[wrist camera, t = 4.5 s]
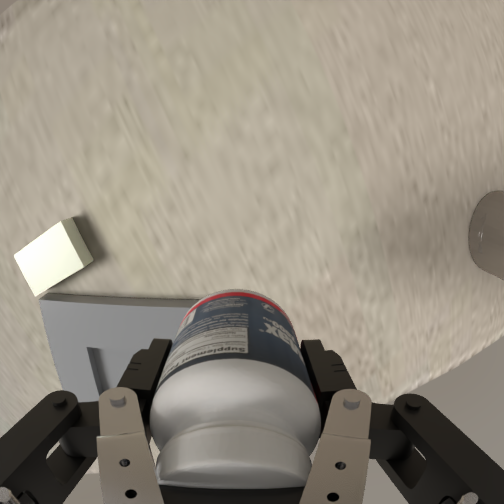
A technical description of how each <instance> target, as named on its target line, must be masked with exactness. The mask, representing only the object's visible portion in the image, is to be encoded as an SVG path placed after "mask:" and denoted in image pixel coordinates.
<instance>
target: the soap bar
mask: <svg viewBox="0 0 504 504" xmlns="http://www.w3.org/2000/svg"><path fill="white" fill-rule="evenodd" d="M14 257H15V259H16V261H17V263H18V265H19V267H20V269H21V271H22V273H23V275H24V277H25V279H26V281H27V282H28V284H29V286H30V288H31V290H32V292H33V293H34V295H35V296H37V295H39V294H40V293H42V292H43V291H45V290H47V289H48V288H50V287H52V286H53V285H55V284H57V283H58V282H60V281H61V280H63V279H65V278H66V277H68V276H70V275H72V274H73V273H75V272H77V271H78V270H80V269H82V268H83V267H85V266H86V265H88V264H89V263H91V262H92V261H94V260H93V258H92V256H91V254H90V252H89V250H88V248H87V246H86V245H85V243H84V241H83V239H82V237H81V235H80V233H79V231H78V229H77V227H76V225H75V223H74V220H73V218H69V219H66V220H63V221H60V222H59V223H58V224H56V225H55V226H53V227H52V228H50V229H49V230H48V231H46V232H45V233H43V234H42V235H41V236H39V237H38V238H37V239H35V240H34V241H32V242H31V243H30V244H28V245H27V246H26V247H24V248H23V249H22V250H20V251H19V252H18V253H17V254H15V255H14Z"/></svg>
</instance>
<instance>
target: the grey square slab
mask: <svg viewBox="0 0 504 504" xmlns="http://www.w3.org/2000/svg"><path fill="white" fill-rule="evenodd" d="M198 301H199V300H183V299H148V298H122V297H101V296H83V295H67V294H52V293H47V294H45V295H44V296H43V297H41V298H40V299H39V303H40V308H41V313H42V317H43V322H44V326H45V330H46V334H47V338H48V342H49V346H50V349H51V353H52V357H53V360H54V363H55V367H56V370H57V373H58V376H59V379H60V382H61V385H62V388H63V390H64V391H70V392H72V393H74V394H75V395H76V397H77V399H78V402H93V401H99V397H100V395H101V394H102V393H103V392H104V391H106V390H108V389H111V388H115V387H117V385H118V383H119V381H120V379H121V377H122V375H123V373H124V372H125V370H126V368H127V366H128V364H130V360H131V358H132V357H133V355H134V354H135V353H137V352H138V351H139V350H141V349H149V346H150V344H151V342H152V340H153V339H154V338H159V339H171V340H172V343H173V342H174V340H175V337H176V335H177V332H178V330H179V327H180V325H181V323H182V321H183V319H184V317H185V315H186V314H187V312H188V311H189V310H190V309H191V307H192V306H193V305H195V304H196V303H197V302H198Z"/></svg>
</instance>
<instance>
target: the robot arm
mask: <svg viewBox="0 0 504 504" xmlns="http://www.w3.org/2000/svg"><path fill="white" fill-rule="evenodd" d="M469 246H470V251H471V255H472V257H473V260H474V262H475V263H476V264H477V266H478V267H480V268H481V269H482V270H484V271H486V272H488V273H491V274H493V275H495V276H497V277H499V278H501V279H502V280H504V192H501V191H494V192H491V193H489V194H487V195H486V196H485V197H484V198H483V199H482V200H481V201H480V203H479V204H478V205H477V207H476V209H475V211H474V214H473V217H472V220H471V225H470V230H469ZM172 345H173V343H172V340H171V339H159V338H154V339H153V340H152V342H151V344H150V346H149V349H141V350H139V351H138V352H137V353H135V354H134V355H133V357H132V358H131V360H130V364H128V366H127V368H126V370H125V372H124V373H123V375H122V377H121V379H120V381H119V383H118V385H117V387H115V388H111V389H108V390H106V391H104V392H103V393H102V394H101V395H100V397H99V401H93V402H78V399H77V397H76V395H75V394H74V393H72V392H70V391H64V390H61V391H55V392H52V393H50V394H48V395H47V396H46V397H45V398H44V399H43V400H41V401H40V402H39V403H38V404H37V405H36V406H35V407H34V408H33V409H31V410H30V411H29V412H28V413H27V414H26V415H25V416H24V417H23V418H22V419H21V420H19V421H18V422H17V423H16V424H15V425H14V426H13V427H12V428H11V429H10V430H9V431H8V432H7V433H5V434H4V435H3V436H2V437H1V438H0V504H63V502H64V501H65V499H66V498H67V497H68V495H69V494H70V493H71V492H72V490H73V489H74V488H75V486H76V485H77V484H78V482H79V481H80V480H81V478H82V477H83V476H84V474H85V473H86V472H87V470H88V469H89V468H90V466H91V465H92V464H93V462H94V461H95V460H96V458H97V457H98V463H99V472H100V481H101V489H102V496H103V503H104V504H362V501H363V496H364V490H365V483H366V477H367V476H366V475H367V469H368V462H369V459H376V460H377V462H378V463H379V465H380V466H381V467H382V469H383V470H384V471H385V473H386V474H387V475H388V477H389V478H390V479H391V481H392V482H393V483H394V485H395V486H396V487H397V489H398V490H399V491H400V493H401V494H402V495H403V496H404V498H405V499H406V500H407V502H408V503H409V504H504V470H503V469H502V468H501V467H500V466H499V465H498V464H497V463H495V462H494V461H493V460H492V459H491V458H490V457H489V456H488V455H487V454H486V453H485V452H484V451H482V450H481V449H480V448H479V447H478V446H477V445H476V444H475V443H474V442H473V441H472V440H471V439H469V438H468V437H467V436H466V435H465V434H464V433H463V432H462V431H461V430H460V429H459V428H457V427H456V426H455V425H454V424H453V423H452V422H451V421H450V420H449V419H448V418H446V416H444V415H443V414H442V413H441V412H440V411H439V410H438V409H437V408H436V407H435V406H433V405H432V404H431V403H430V402H429V401H428V400H427V399H426V398H424V397H422V396H420V395H417V394H404V395H401V396H399V397H398V398H396V400H395V402H394V405H387V404H377V403H372V402H371V399H370V397H369V396H368V395H367V394H366V393H364V392H362V391H360V390H357V389H356V387H355V385H354V383H353V381H352V379H351V377H350V375H349V373H348V371H347V369H346V367H345V365H344V363H343V361H342V359H341V357H340V356H339V355H338V354H337V353H335V352H334V351H333V350H328V351H325V350H324V347H323V345H322V343H321V341H320V340H319V339H318V340H302V341H301V348H300V351H301V354H302V357H303V360H304V363H305V366H306V369H307V372H308V376H309V379H310V382H311V384H312V387H313V390H314V393H315V395H316V399H317V402H318V405H319V411H320V417H321V432H320V436H319V438H320V442H319V445H318V449H317V451H316V455H315V458H314V461H313V464H312V467H311V470H310V474H309V477H308V480H307V483H306V486H301V487H289V488H272V489H210V488H190V487H177V486H167V485H159V483H158V480H157V477H156V473H155V471H156V467H155V463H154V459H153V456H152V452H151V448H150V445H149V443H150V440H151V436H152V433H151V429H150V410H151V406H152V402H153V398H154V394H155V391H156V389H157V386H158V383H159V380H160V377H161V374H162V372H163V369H164V366H165V363H166V361H167V358H168V356H169V353H170V350H171V348H172ZM58 441H59V443H60V445H59V446H58V447H57V448H56V449H55V450H54V452H53V453H52V454H51V455H50V456H49V457H48V458H47V459H46V456H47V454H48V452H49V451H50V449H51V448H52V447H53V446H54V445H55V444H56V443H57V442H58ZM415 447H416V448H417V449H418V450H419V451H420V452H421V453H422V454H423V456H424V457H425V459H426V460H425V459H424V458H423V457H422V456H421V455H420V453H419V452H418V451H417V450H416V449H415Z"/></svg>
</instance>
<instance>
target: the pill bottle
mask: <svg viewBox="0 0 504 504" xmlns="http://www.w3.org/2000/svg"><path fill="white" fill-rule="evenodd" d="M150 429H151V433H152V437H153V439H154V442H155V444H156V446H157V447H158V449H159V451H160V454H159V456H158V458H157V462H156V471H155V473H156V477H157V480H158V483H159V485H167V486H177V487H190V488H210V489H272V488H289V487H301V486H306V483H307V480H308V477H309V474H310V470H311V467H312V464H311V460H310V458H309V456H310V455H311V453H312V452H313V450H314V448H315V447H316V444H317V442H318V440H319V436H320V432H321V417H320V411H319V405H318V402H317V399H316V395H315V393H314V390H313V387H312V384H311V382H310V379H309V376H308V372H307V369H306V366H305V363H304V360H303V357H302V354H301V351H300V347H299V344H298V341H297V337H296V334H295V331H294V329H293V326H292V323H291V321H290V319H289V317H288V316H287V314H286V313H285V312H284V310H283V309H282V308H281V307H280V306H279V305H278V304H277V303H275V302H274V301H273V300H271V299H270V298H268V297H266V296H264V295H262V294H260V293H257V292H254V291H249V290H243V289H229V290H223V291H219V292H215V293H212V294H210V295H208V296H206V297H204V298H202V299H201V300H199V301H198V302H197V303H196V304H195V305H193V306H192V307H191V309H190V310H189V311H188V312H187V314H186V315H185V317H184V319H183V321H182V323H181V325H180V327H179V330H178V332H177V335H176V337H175V340H174V342H173V345H172V348H171V350H170V353H169V356H168V358H167V361H166V363H165V366H164V369H163V372H162V374H161V377H160V380H159V383H158V386H157V389H156V391H155V394H154V398H153V402H152V406H151V410H150Z"/></svg>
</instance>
